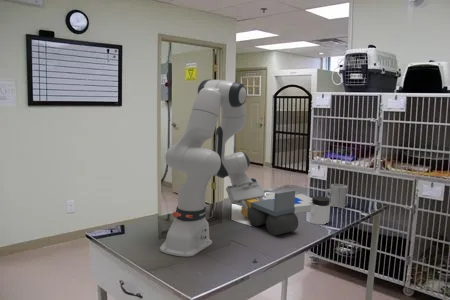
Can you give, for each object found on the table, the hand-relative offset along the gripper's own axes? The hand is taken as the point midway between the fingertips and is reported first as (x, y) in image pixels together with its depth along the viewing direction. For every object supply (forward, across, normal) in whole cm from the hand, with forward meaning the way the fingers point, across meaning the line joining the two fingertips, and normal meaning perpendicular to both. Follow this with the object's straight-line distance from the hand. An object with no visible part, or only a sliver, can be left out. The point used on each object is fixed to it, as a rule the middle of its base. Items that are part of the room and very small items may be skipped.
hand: (253, 208), depth 173 cm
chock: (+2, 0, +5) cm, 5 cm away
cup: (+9, +56, -1) cm, 57 cm away
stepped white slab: (-2, +33, +11) cm, 35 cm away
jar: (+18, +26, -10) cm, 33 cm away
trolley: (+14, 0, -5) cm, 15 cm away
